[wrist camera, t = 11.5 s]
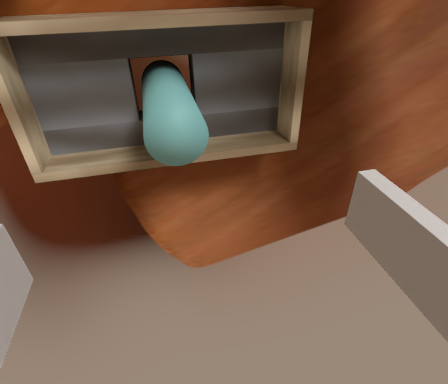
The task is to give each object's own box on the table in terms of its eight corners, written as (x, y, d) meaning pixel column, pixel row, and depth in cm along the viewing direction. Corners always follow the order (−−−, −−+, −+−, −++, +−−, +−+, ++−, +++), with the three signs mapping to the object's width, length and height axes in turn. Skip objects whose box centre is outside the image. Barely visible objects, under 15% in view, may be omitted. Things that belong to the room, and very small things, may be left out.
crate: (2, 16, 25) (-35, 24, 19) (281, 5, 29) (313, 8, 24) (52, 150, 31) (35, 183, 26) (273, 125, 36) (296, 149, 30)
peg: (138, 61, 29) (137, 108, 17) (180, 58, 29) (206, 102, 18) (145, 103, 31) (149, 170, 20) (184, 100, 32) (210, 161, 20)
